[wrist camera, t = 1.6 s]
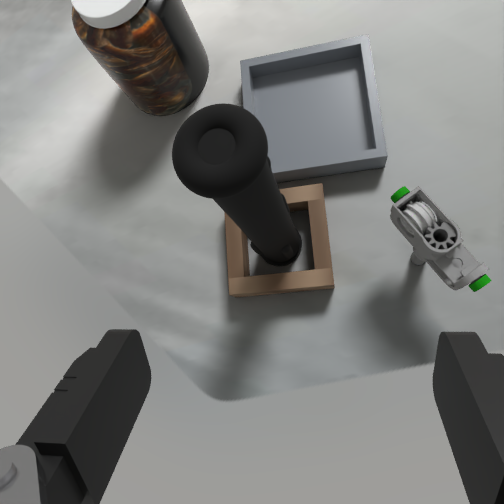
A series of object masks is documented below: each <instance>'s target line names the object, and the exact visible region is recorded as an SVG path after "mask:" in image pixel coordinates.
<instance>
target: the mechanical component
mask: <svg viewBox="0 0 504 504" xmlns="http://www.w3.org/2000/svg"><path fill="white" fill-rule="evenodd" d="M391 200H392V201H393V202H394V203H395V204H393V206H392V208H391V215H390V217H391V220H392V222H393V223H394V225H395V226H396V227H397V229H398V230H399V231H400V232H401V233H402V234H403V236H404V237H405V238H406V239H407V240H408V241H409V242H410V244H411V245H412V246H413V251H414V252H413V253H412V255H411V261H412V262H413V263H414V264H415V265H421V264H423V263H425V262H427V263H428V264H429V265H430V266H431V268H432V269H433V270H434V271H435V272H436V273H437V274H438V276H439V277H440V278H441V279H442V280H443V281H444V282H445V283H446V284H447V285H448V286H449V287H450V288H452V289H453V290H458V289H461V288H463V287H464V286H466V285H468V284H469V283H471V284H470V285H469V287H470V288H471V289H472V290H473V291H474V292H475V291H477V290H479V289H481V288H482V287H484V286H485V285H487V284H488V283H489V282H490V281H491V279H490V278H489V277H488V276H487V275H486V274H484V273H485V272H486V271H487V270H488V269H489V268H488V267H487V266H486V265H485V264H484V263H482V264H480V263H479V262H478V261H477V260H476V258H475V257H474V256H473V255H472V254H471V253H470V252H469V251H468V250H467V249H466V248H465V247H464V245H463V244H462V243H461V242H462V241H464V240H463V239H462V238H461V231H460V228H459V227H458V225H457V224H456V223H455V222H454V221H452V220H451V219H449V218H448V217H447V216H446V215H445V214H444V213H443V212H442V211H441V209H440V208H439V207H438V206H437V205H436V204H435V203H434V202H433V201H432V200H431V199H430V198H429V197H428V195H427V194H426V193H425V192H424V191H423V190H422V189H421V188H420V187H419V186H418V187H417V188H415V189H414V190H413V191H411V192H410V191H409V190H408V189H407V188H406V187H405V186H404V187H402V188H400V189H399V190H398V191H396V192H395V193H394V194H393V195H392V196H391ZM422 201H423V202H425V203H426V204H428V205H429V206H430V207H431V208H432V209H433V211H434V212H435V214H436V216H437V220H436V219H435V216H434V214H433V213H432V211H431V210H430V209H429V208H428V207H427V206H426V205H425V204H423V203H422ZM482 274H484V275H483V276H481V275H482Z"/></svg>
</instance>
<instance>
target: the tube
mask: <svg viewBox="0 0 504 504" xmlns="http://www.w3.org/2000/svg"><path fill="white" fill-rule="evenodd" d="M172 160H173V165H174V169H175V171H176V174H177V176H178V177H179V179H180V180H181V182H182V183H183V184H184V185H185V186H186V187H187V188H188V189H189V190H191V191H192V192H194V193H196V194H198V195H200V196H203V197H206V198H212V199H213V200H214V201H215V202H216V203H217V204H218V205H219V206H220V207H221V208H222V209H223V210H224V212H225V213H226V214H227V215H228V216H229V217H230V218H231V219H232V220H233V221H234V223H235V224H236V225H237V226H238V227H239V228H240V229H241V230H242V231H243V232H244V233H245V235H246V236H247V237H248V238H249V239H250V240H251V241H252V242H251V248H252V249H253V250H254V251H255V252H256V253H257V254H260V255H261V256H262V258H263V259H264V260H265V261H266V262H268V263H269V264H272V265H275V266H284V265H287V264H290V263H291V262H293V261H294V260H295V259H296V258H297V257H298V255H299V254H300V251H301V248H302V240H301V236H300V234H299V232H298V231H297V230H296V228H295V227H294V224H293V222H292V219H291V217H290V214H289V213H290V209H289V207H288V204H287V202H286V199H285V197H284V195H283V194H282V193H281V192H280V190H279V187H278V185H277V183H276V180H275V178H274V175H273V173H272V169H271V161H270V159H269V157H268V141H267V136H266V133H265V130H264V128H263V126H262V125H261V123H260V122H259V120H258V119H257V118H256V117H255V116H254V115H253V114H252V113H251V112H249V111H248V110H246V109H244V108H242V107H239V106H236V105H232V104H215V105H210V106H207V107H204V108H202V109H200V110H198V111H197V112H195V113H194V114H192V115H191V116H190V117H189V118H188V119H187V120H186V121H185V122H184V123H183V124H182V126H181V127H180V129H179V131H178V132H177V134H176V137H175V140H174V143H173V149H172Z"/></svg>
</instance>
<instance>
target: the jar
mask: <svg viewBox="0 0 504 504" xmlns="http://www.w3.org/2000/svg"><path fill="white" fill-rule="evenodd" d="M71 2H72V5H73V7H72V20H73V25H74V28H75V31H76V33H77V35H78V37H79V38H80V40H81V41H82V43H83V44H84V45H85V47H86V48H87V49H88V50H89V52H90V53H91V54H92V55H93V56H94V58H95V59H96V60H97V61H98V62H99V64H100V65H101V66H102V67H103V68H104V70H105V71H106V72H107V73H108V74H109V75H110V77H111V78H112V79H113V80H114V81H115V82H116V83H117V85H118V86H119V87H120V88H121V89H122V90H123V91H124V92H125V94H126V95H127V96H128V97H129V98H130V99H131V100H132V101H133V103H134V104H135V105H136V106H137V107H138V108H140V109H141V110H142V111H144V112H146V113H148V114H152V115H159V116H161V115H169V114H173V113H176V112H178V111H180V110H182V109H184V108H185V107H187V106H188V105H189V104H191V103H192V102H193V101H194V100H195V99H196V98H197V96H198V95H199V94H200V92H201V91H202V89H203V87H204V85H205V83H206V80H207V77H208V71H209V63H208V58H207V54H206V52H205V49H204V47H203V45H202V43H201V41H200V38H199V36H198V34H197V32H196V30H195V28H194V26H193V23H192V21H191V19H190V17H189V15H188V13H187V11H186V9H185V7H184V5H183V3H182V0H71Z"/></svg>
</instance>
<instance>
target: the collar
mask: <svg viewBox="0 0 504 504" xmlns="http://www.w3.org/2000/svg"><path fill="white" fill-rule="evenodd" d="M279 190H280V192H281V193H282V194H283V195H284V197H285V199H286V202H287V204H288V207H289V209H290V212H293V211H301V210H308V209H309V218H310V227H311V237H312V246H313V256H314V265H315V270H305V271H296V272H286V273H276V274H267V275H257V276H250V271H249V256H248V242H247V236H246V235H245V233H244V232H243V231H242V230H241V229H240V228H239V227H238V226H237V225H236V224H235V223H234V221H233V220H232V219H231V218H230V217H229V216H228V215H227V214H226V213H225V229H226V246H227V264H228V282H229V295H231V296H234V297H246V296H257V295H268V294H278V293H289V292H300V291H310V290H321V289H332V288H334V279H333V271H332V262H331V253H330V244H329V236H328V227H327V218H326V210H325V201H324V192H323V184H322V183H320V184H313V185H306V186H299V187H292V188H285V189H279Z"/></svg>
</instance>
